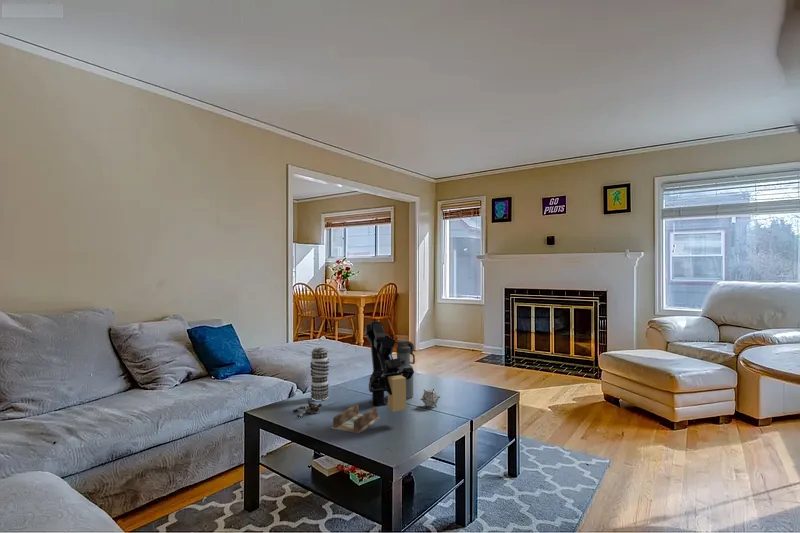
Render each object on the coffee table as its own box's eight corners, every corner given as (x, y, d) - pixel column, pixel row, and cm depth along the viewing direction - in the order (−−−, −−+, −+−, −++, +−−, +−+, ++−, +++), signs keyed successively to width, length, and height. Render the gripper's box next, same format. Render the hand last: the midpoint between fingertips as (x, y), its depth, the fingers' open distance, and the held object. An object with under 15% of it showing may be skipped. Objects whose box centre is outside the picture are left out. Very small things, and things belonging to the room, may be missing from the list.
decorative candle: (333, 397, 216) (332, 347, 216) (320, 402, 208) (320, 350, 208) (319, 394, 221) (319, 346, 221) (306, 399, 213) (306, 349, 213)
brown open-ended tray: (353, 414, 191) (353, 404, 191) (379, 418, 186) (379, 407, 186) (331, 428, 175) (331, 417, 175) (359, 433, 170) (359, 421, 170)
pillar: (387, 407, 180) (387, 376, 180) (400, 405, 183) (400, 375, 183) (392, 411, 176) (392, 379, 176) (406, 409, 178) (405, 377, 178)
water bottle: (407, 392, 224) (407, 338, 224) (417, 397, 216) (417, 341, 216) (390, 395, 219) (390, 340, 219) (400, 400, 211) (400, 343, 211)
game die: (433, 415, 200) (438, 402, 194) (416, 408, 201) (421, 394, 196) (438, 401, 207) (443, 388, 201) (422, 394, 209) (426, 381, 203)
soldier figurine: (290, 402, 187) (316, 388, 192) (292, 411, 195) (317, 398, 200) (298, 416, 183) (323, 402, 188) (300, 425, 192) (324, 412, 197)
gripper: (372, 352, 179) (383, 385, 169) (412, 348, 187) (424, 380, 177) (365, 367, 186) (375, 400, 176) (403, 363, 194) (415, 394, 184)
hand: (398, 393), depth 178 cm, fingers closed on pillar, 6 cm apart
